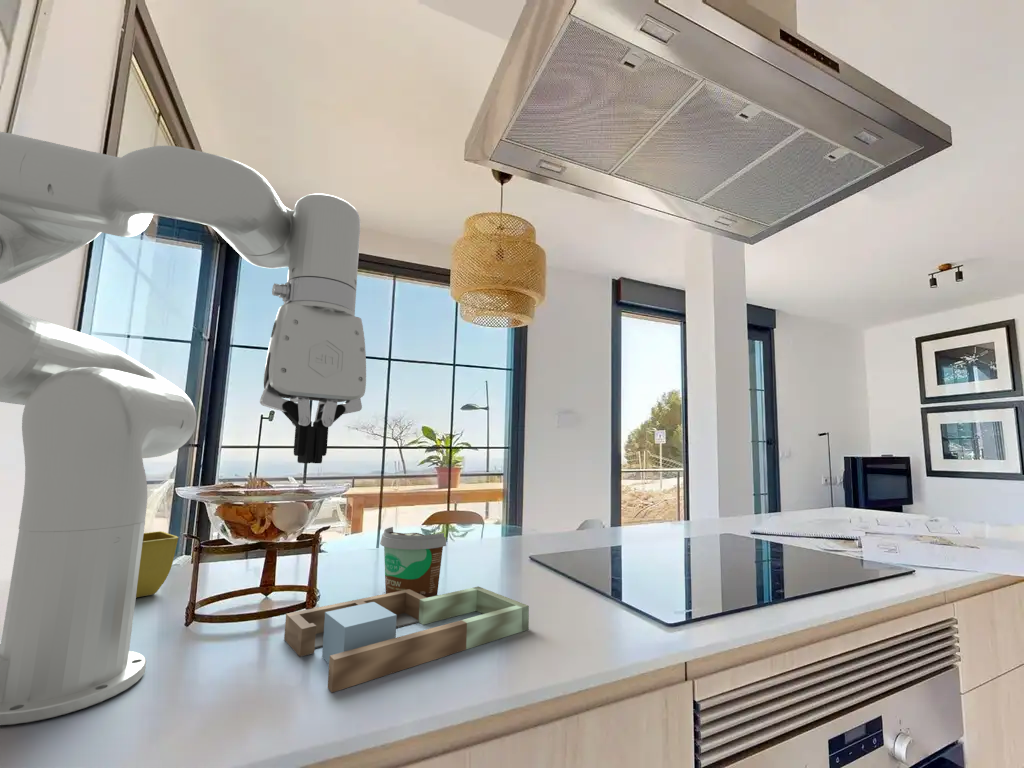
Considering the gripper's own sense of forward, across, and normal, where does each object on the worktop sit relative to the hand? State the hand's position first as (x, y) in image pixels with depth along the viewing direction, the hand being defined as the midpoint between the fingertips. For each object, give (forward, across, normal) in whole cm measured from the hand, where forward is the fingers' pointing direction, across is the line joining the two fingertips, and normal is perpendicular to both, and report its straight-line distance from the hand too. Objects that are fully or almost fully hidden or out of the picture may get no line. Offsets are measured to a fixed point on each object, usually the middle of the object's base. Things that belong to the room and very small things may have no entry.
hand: (309, 462), depth 52 cm
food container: (+22, +22, +18) cm, 36 cm away
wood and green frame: (+22, +15, +3) cm, 27 cm away
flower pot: (+22, -12, +44) cm, 51 cm away
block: (+22, +7, 0) cm, 23 cm away
